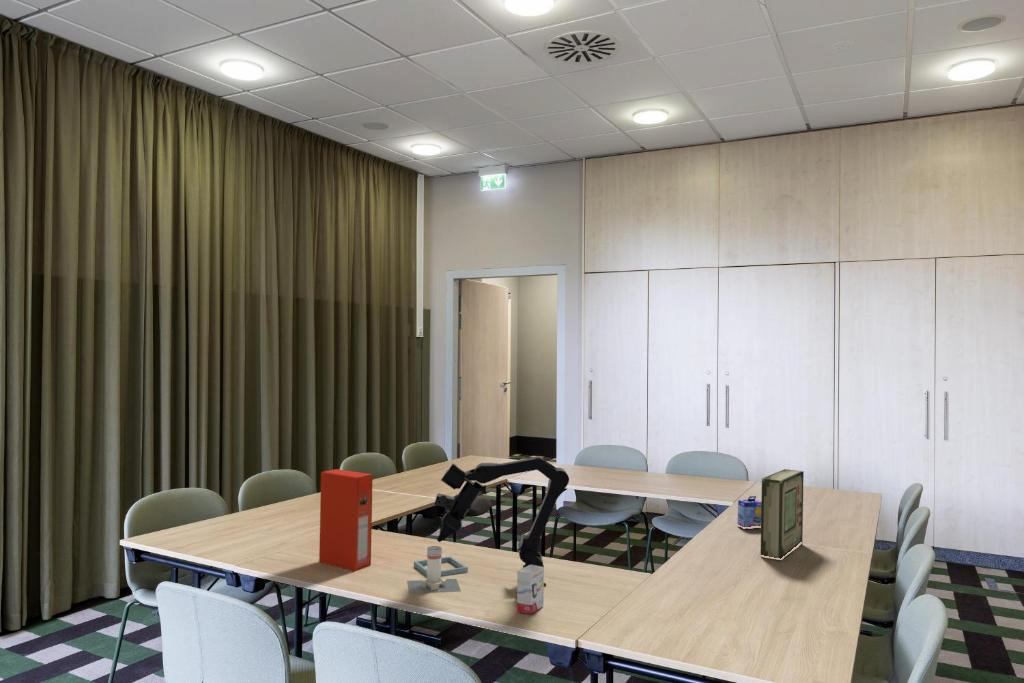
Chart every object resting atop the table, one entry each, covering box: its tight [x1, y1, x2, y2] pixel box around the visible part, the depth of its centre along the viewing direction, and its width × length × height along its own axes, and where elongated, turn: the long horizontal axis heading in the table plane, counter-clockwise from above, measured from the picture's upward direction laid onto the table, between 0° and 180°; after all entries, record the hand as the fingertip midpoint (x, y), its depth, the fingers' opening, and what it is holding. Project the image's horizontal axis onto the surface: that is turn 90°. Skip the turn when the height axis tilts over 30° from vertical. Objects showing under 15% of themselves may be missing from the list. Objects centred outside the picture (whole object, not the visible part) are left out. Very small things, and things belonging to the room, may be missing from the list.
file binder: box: [318, 468, 374, 572], centre depth 243 cm, size 8×17×32 cm, turn 59°
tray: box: [413, 555, 469, 577], centre depth 237 cm, size 14×14×2 cm
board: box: [406, 578, 462, 595], centre depth 220 cm, size 16×12×3 cm
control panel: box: [760, 468, 805, 559], centre depth 274 cm, size 30×8×30 cm, turn 143°
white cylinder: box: [426, 545, 443, 588], centre depth 220 cm, size 5×5×12 cm
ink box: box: [516, 565, 545, 615], centre depth 205 cm, size 9×5×12 cm, turn 150°
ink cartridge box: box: [737, 495, 761, 527], centre depth 309 cm, size 10×6×14 cm, turn 107°
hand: (439, 537), depth 226 cm, fingers open, 9 cm apart
